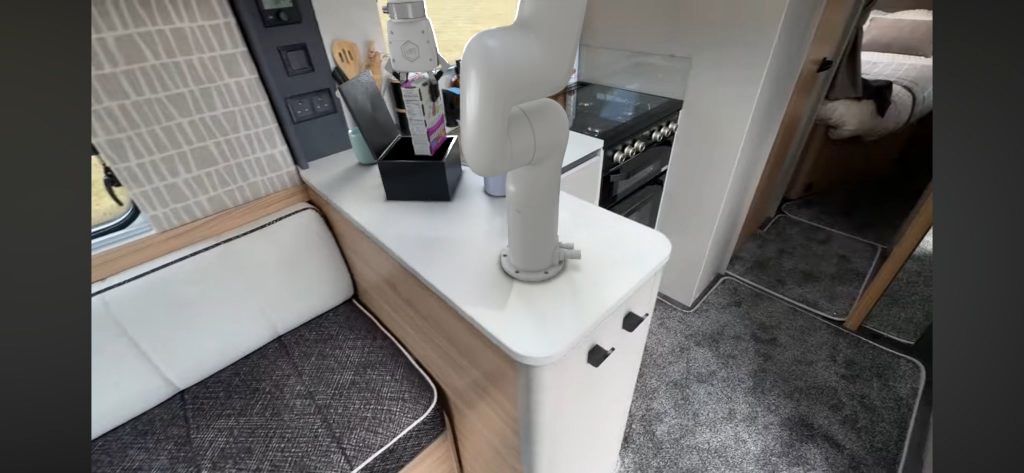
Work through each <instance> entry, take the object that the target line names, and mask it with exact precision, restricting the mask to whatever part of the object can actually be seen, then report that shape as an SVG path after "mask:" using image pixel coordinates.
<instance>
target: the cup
mask: <svg viewBox="0 0 1024 473" xmlns="http://www.w3.org/2000/svg"><path fill="white" fill-rule="evenodd" d="M347 135H348V138H349V141H350V145H351V148H352V151H353V153H354V156H355V157H356V159H357V161H358V162H360V163H361V164H364V165H371V164H374V163H377V161H378V160H379V159H380V157H381V156H380V157H379V159H378V160H374V158H373V156H372V154H371V152H370V150H369V148H368V146H367V144H366V142H365V140H364V139H363V137H362V135H361V133H360V131H359V129H358V127H357V126H355V127H351V128H349V130H348V131H347Z"/></svg>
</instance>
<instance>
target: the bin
mask: <svg viewBox="0 0 1024 473" xmlns="http://www.w3.org/2000/svg"><path fill="white" fill-rule="evenodd" d="M446 136H447V139H446V140H445V141H444V143H443V144H442V145H441V146H440V147H439V149H438V150H437V151H436V152H435V153H434V154H433V155H432V156H426V155H415V153H414V148H413V144H412V139H411V135H398V136H397V137H396V139H395V140H394V141H393V142H392V143H391V144H390V146H389V147H388V148H387V149H386V150H385V151H384V153H383V154H382V155H381V156H380V158H379V160H378V161H376V164H377V168H378V172H379V175H380V176H379V177H380V179H381V183H382V187H383V190H384V194H385V197H386V201H400V202H401V201H402V202H403V201H405V202H406V201H408V202H410V201H411V202H413V201H414V202H451V200H452V199H453V198H452V197H453V196H454V193H455V190H456V188H457V185H458V183H459V181H460V179H461V176H462V173H463V168H462V166H463V165H462V159H461V151H460V150H461V149H460V143H459V136H458V135H446Z"/></svg>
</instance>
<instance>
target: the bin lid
mask: <svg viewBox="0 0 1024 473" xmlns="http://www.w3.org/2000/svg"><path fill="white" fill-rule="evenodd" d="M336 89H337V90H335V96H336V98H338V99H342V100H343V102H344V104H345V106H346V108H347V109H348V112H349V114H350V116H351V117H352V120H353V121H354V123H355V125H356V127H358V129H359V131H360V133H361V135H362V137H363V139H364V140H365V142H366V144H367V146H368V148H369V150H370V152H371V154H372V156H373V158H374V160H378V159H380V158H379V157H381V156H382V155H383V154H384V153H385V152H386V150H387V149H388V148H389V147H390V146H391V144H392V143H393V142H394V141H395V140H396V139H397V137H398V136H400V131H399V130H398V128H397V125H396V123H395V121H394V119H393V117H392V114H391V113H390V110H389V108H388V105H387V103H386V101H385V99H384V97H383V95H382V93H381V91H380V89H379V86H378V84H377V82H376V80H375V77H374V75H373V73H372V71H371V68H367V69H364V71H362V72H360V73H359V74H357V75H355V76H353V77H352V78H350V79H349V80H347V81H345V82H343V83H341V84H340V85H339V86H337V87H336Z"/></svg>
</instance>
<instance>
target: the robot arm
mask: <svg viewBox="0 0 1024 473" xmlns="http://www.w3.org/2000/svg"><path fill="white" fill-rule="evenodd" d="M386 1H387V2H386V5H384V6H381V11H382V14H384V15H385V14H386V15H388V17H389V18H390V19H389V20H386V33H387V44H388V52H389V53H388V54H389V58H388V59H387V61H386V63H385V65H384V70H385V71H386V72H388V73H389V74H390V75H392V77H393V78H394V79H396V80H397V81H398V82H399V84H400V85H401V86H403V85H404V84H406V83H407V82H409V81H410V79H409V76H410V73H426V74H428V76H429V78H430V80H431V84H430V92H431V98H432V102H436V101H437V99H438V97H439V96H440V97H441V93H440V94H439V91H440V86H439V87H438V84H439V81H440V79H441V78H442V77H443V76H444V75H445V73H447V71H449V69H450V68H451V64H450V63H449V62H448V61H447V60H446V58H444V57H443V55H442V54H441V53H440V52H439V47H438V42H437V38H436V37H437V36H436V33H435V30H434V26H433V23H432V20H431V18H430V17H428V14H427V7H426V1H425V0H386ZM587 6H588V0H518V2H517V9H516V13H515V18H514V20H513V22H512V23H511V24H509V25H502V26H494V27H490V28H485V29H483V30H482V29H481V30H479V31H477V32H476V33H475V34H474V35H472V36H471V37H470V39H469V40H468V41H467V43H466V44H465V46H464V48H463V51H462V54H461V59H460V64H459V69H460V70H459V131H460V132H459V137H460V145H461V146H460V147H461V152H462V156H463V158H464V161H465V163H466V165H467V167H468V168H469V170H470V171H471V172H473V173H474V174H475V175H477V176H479V177H482V178H484V177H494V176H498V175H501V174H504V173H507V172H508V173H507V177H506V186H505V190H506V195H505V205H506V206H505V207H506V229H507V230H506V231H507V244H508V245H507V246H505V248H503V250H502V252H501V254H500V264H501V267H502V269H503V270H504V272H505V273H507V274H508V275H509V276H511V277H513V278H514V279H517V280H520V281H525V282H540V281H541V282H542V281H545V280H549V279H551V278H553V277H555V276H556V275H558V274H559V273H560V272H561V271H562V269H563V268H564V265H565V260H581V259H582V250H581V249H574V248H575V243H574V242H565V243H564V242H562V241H559V240H560V239H559V215H560V214H559V213H560V212H559V211H560V196H561V195H560V194H561V179H562V169H563V165H564V164H563V163H564V159H565V155H566V151H567V147H568V144H569V140H570V139H569V138H570V121H569V117H568V114H567V112H566V110H565V109H564V107H563V106H562V105H561V104H560V103H559V102H557V101H556V100H554V99H552V98H550V97H552V96H554V95H557V94H558V93H560V92H563V90H565V88H567V86H568V85H569V82H570V81H571V78H572V74H573V71H574V68H575V62H576V58H577V53H578V49H579V44H580V39H581V35H582V30H583V26H584V20H585V16H586V12H587V11H586V10H587ZM439 66H441V68H440V69H439V70H438V71H437V70H436V69H437V68H438V67H439Z"/></svg>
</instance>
